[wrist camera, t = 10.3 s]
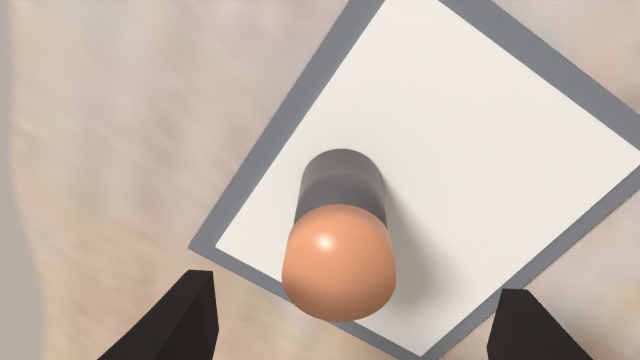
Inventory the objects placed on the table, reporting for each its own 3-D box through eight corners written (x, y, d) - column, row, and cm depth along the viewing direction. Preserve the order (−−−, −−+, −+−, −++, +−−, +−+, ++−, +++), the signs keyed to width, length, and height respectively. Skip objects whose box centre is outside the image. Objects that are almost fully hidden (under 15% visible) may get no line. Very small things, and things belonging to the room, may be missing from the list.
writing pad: (678, 145, 20) (687, 151, 19) (422, 366, 27) (423, 375, 26) (397, -72, 16) (398, -72, 16) (189, 243, 23) (186, 250, 23)
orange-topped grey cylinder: (400, 169, 20) (418, 261, 15) (358, 233, 22) (360, 336, 17) (322, 131, 20) (312, 214, 14) (284, 199, 21) (263, 296, 16)
